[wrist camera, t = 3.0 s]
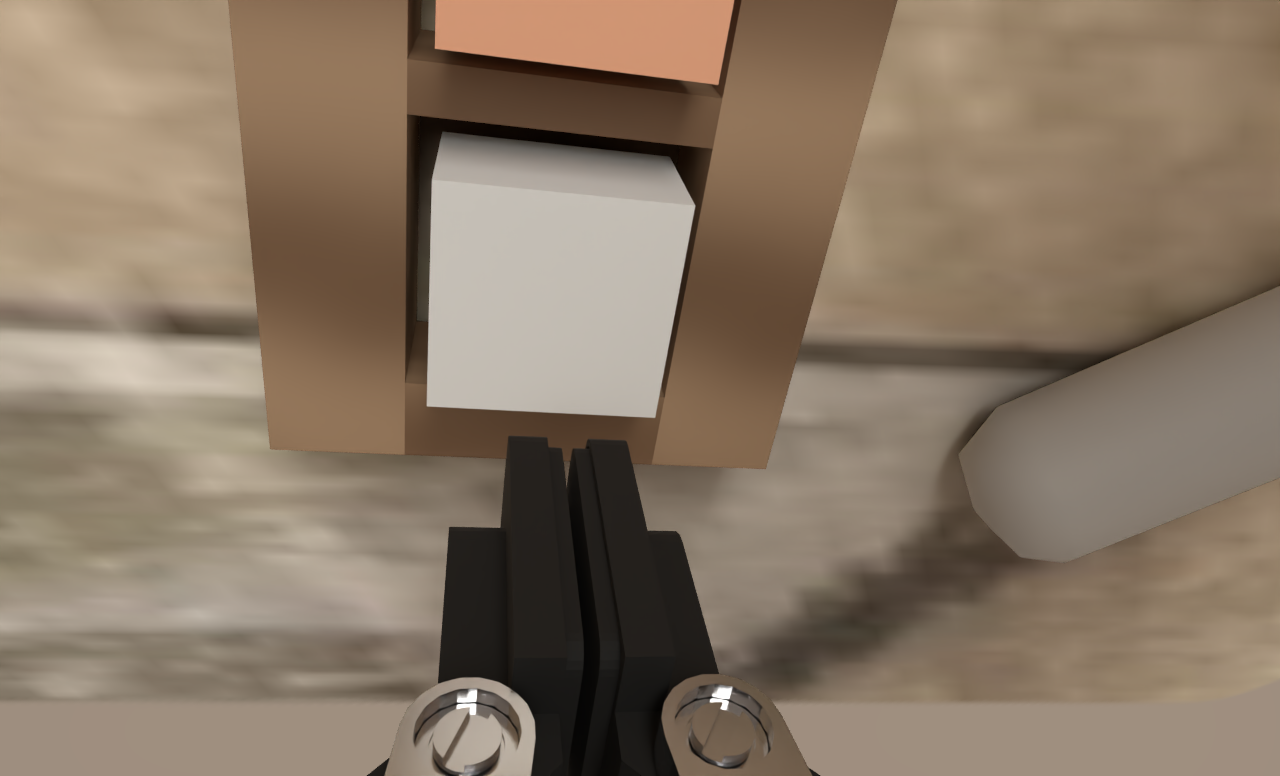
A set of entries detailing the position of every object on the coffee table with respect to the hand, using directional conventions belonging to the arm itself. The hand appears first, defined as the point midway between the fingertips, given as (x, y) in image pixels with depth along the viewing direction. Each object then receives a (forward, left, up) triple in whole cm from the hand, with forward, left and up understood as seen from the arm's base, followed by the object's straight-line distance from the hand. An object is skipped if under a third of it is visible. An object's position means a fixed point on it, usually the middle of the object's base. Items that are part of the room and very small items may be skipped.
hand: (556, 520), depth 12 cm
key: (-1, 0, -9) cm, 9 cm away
